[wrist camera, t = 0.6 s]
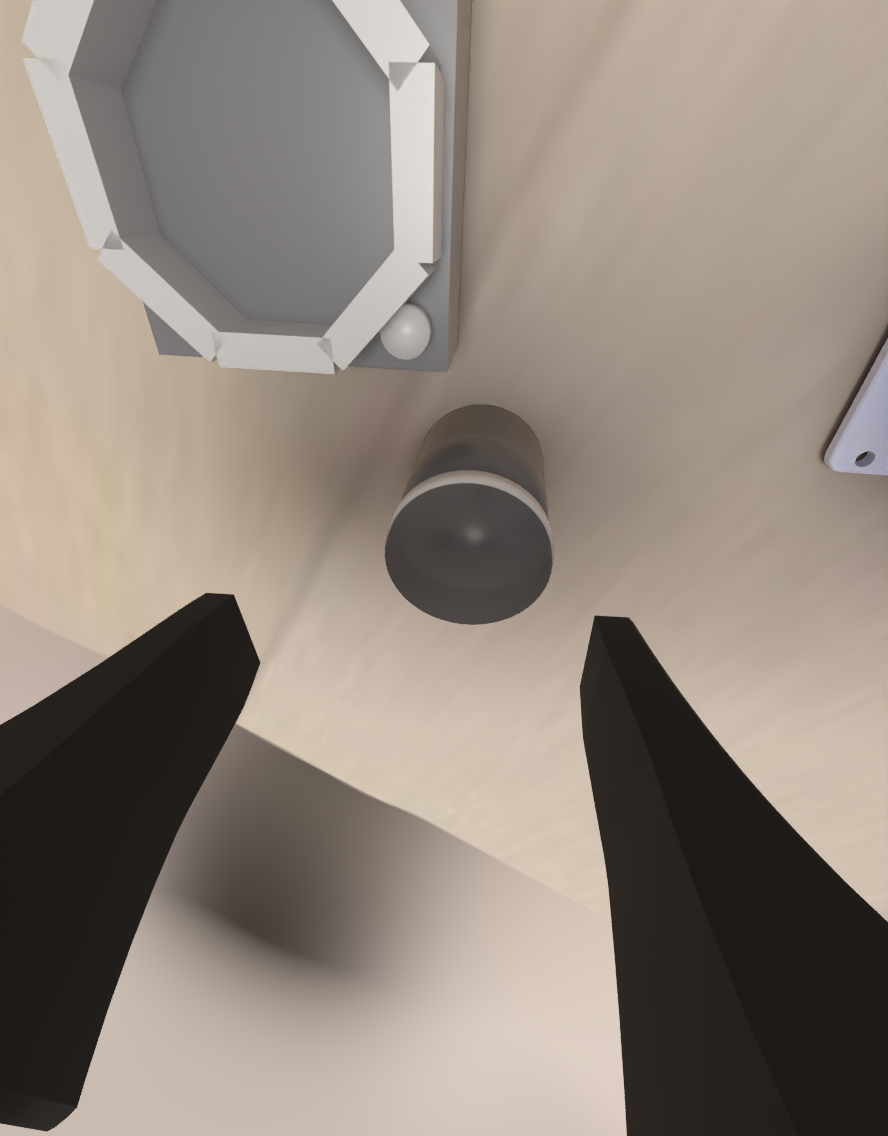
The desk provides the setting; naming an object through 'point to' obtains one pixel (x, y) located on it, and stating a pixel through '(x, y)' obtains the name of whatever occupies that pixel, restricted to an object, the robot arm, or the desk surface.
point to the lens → (473, 520)
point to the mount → (268, 170)
